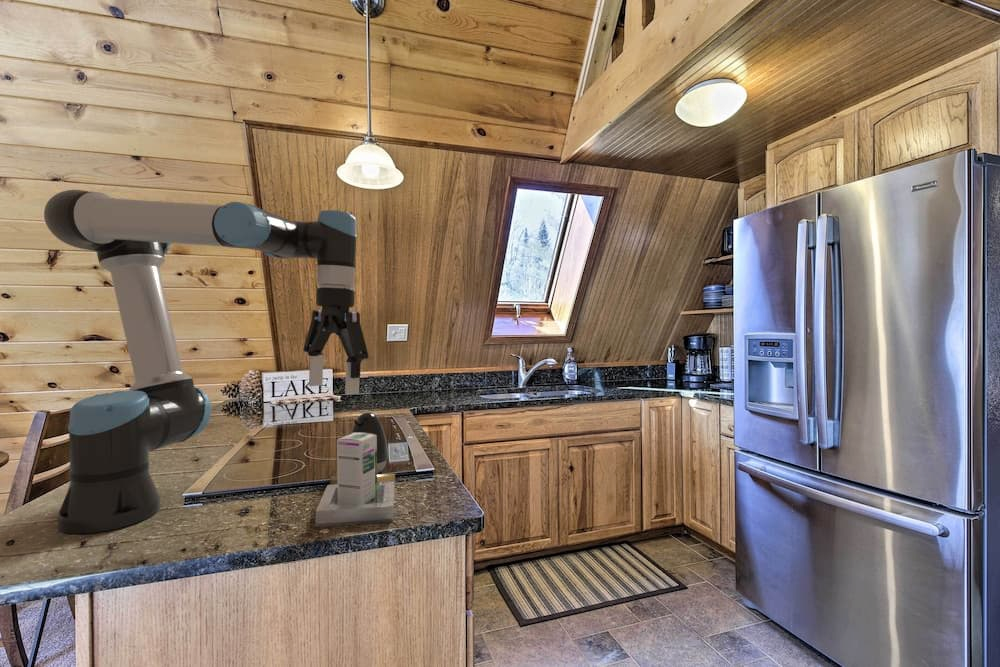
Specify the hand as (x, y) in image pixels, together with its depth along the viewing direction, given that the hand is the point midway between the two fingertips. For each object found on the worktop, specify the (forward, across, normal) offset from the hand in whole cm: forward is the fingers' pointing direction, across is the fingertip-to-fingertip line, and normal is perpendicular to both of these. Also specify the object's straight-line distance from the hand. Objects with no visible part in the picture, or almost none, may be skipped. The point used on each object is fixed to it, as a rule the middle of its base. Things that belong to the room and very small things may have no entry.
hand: (333, 389), depth 99 cm
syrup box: (+23, -7, -2) cm, 24 cm away
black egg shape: (+24, +10, -16) cm, 31 cm away
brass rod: (+24, +2, -9) cm, 26 cm away
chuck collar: (+24, -8, -2) cm, 25 cm away
